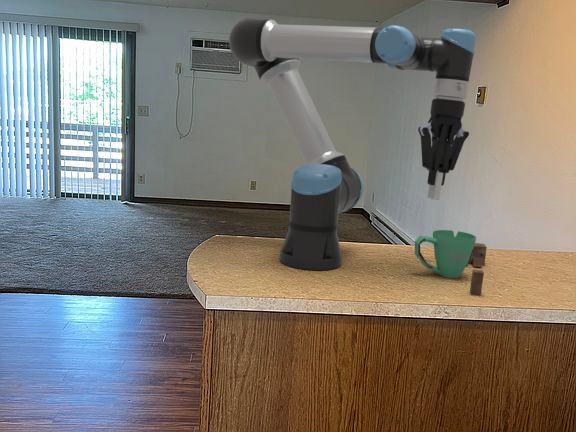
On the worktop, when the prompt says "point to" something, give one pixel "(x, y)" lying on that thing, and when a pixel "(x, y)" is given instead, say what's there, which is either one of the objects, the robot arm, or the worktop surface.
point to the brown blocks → (477, 274)
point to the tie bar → (476, 259)
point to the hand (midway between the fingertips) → (433, 198)
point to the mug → (448, 251)
